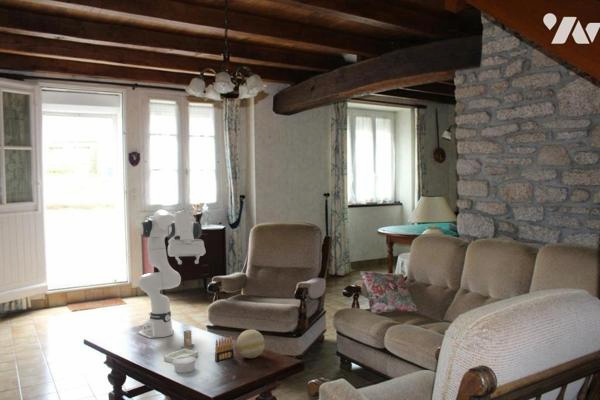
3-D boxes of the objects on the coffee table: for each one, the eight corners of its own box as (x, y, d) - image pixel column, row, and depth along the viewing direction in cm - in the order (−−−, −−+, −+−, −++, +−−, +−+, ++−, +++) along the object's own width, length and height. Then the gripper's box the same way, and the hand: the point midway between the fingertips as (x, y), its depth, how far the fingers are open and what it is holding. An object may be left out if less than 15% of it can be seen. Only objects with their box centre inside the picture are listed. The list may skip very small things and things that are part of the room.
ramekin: (188, 364, 267) (188, 354, 267) (200, 369, 259) (200, 359, 259) (169, 370, 259) (168, 359, 259) (180, 375, 251) (180, 365, 251)
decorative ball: (251, 364, 265) (250, 335, 264) (231, 358, 274) (230, 330, 273) (270, 356, 276) (270, 329, 276) (250, 351, 286) (250, 324, 285)
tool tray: (163, 360, 273) (163, 356, 272) (183, 352, 285) (183, 348, 285) (177, 364, 267) (177, 359, 267) (197, 356, 279) (197, 351, 279)
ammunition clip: (216, 362, 268) (216, 340, 268) (214, 362, 270) (214, 339, 269) (234, 358, 275) (233, 336, 274) (232, 357, 276) (231, 335, 276)
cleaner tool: (181, 349, 290) (181, 332, 290) (190, 346, 296) (190, 329, 296) (185, 350, 289) (184, 332, 288) (194, 347, 295) (193, 329, 294)
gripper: (200, 241, 284) (204, 264, 279) (165, 241, 272) (168, 266, 268) (205, 237, 280) (209, 261, 275) (169, 237, 268) (172, 262, 263)
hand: (188, 263), depth 271 cm, fingers open, 8 cm apart
